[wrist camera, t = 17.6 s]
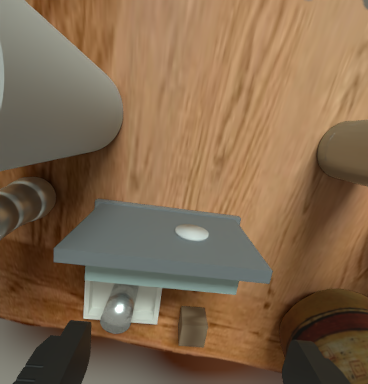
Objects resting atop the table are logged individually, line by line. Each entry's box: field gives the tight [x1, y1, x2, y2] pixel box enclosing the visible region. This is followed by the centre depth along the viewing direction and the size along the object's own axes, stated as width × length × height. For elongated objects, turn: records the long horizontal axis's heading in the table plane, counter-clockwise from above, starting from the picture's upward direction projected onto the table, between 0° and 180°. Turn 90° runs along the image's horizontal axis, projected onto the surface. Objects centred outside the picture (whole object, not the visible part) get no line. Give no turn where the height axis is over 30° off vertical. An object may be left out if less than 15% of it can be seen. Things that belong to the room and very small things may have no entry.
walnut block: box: [178, 306, 208, 347], centre depth 42 cm, size 4×4×4 cm
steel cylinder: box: [100, 283, 139, 334], centre depth 37 cm, size 4×4×8 cm
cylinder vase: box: [0, 0, 123, 171], centre depth 21 cm, size 12×12×25 cm
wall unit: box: [54, 199, 273, 295], centre depth 31 cm, size 24×7×16 cm, turn 82°
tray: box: [83, 280, 162, 324], centre depth 40 cm, size 13×12×2 cm
